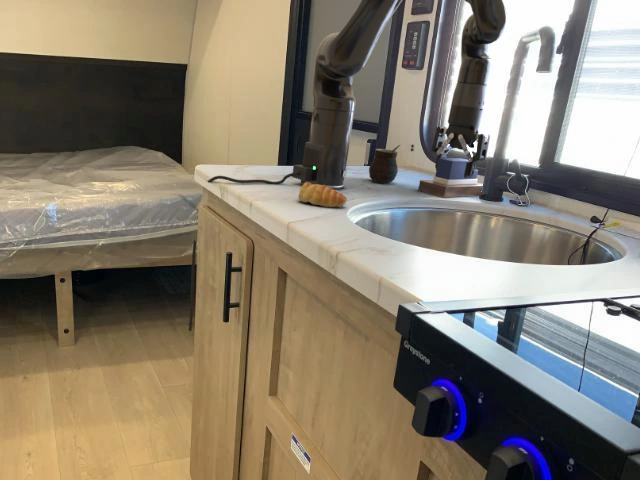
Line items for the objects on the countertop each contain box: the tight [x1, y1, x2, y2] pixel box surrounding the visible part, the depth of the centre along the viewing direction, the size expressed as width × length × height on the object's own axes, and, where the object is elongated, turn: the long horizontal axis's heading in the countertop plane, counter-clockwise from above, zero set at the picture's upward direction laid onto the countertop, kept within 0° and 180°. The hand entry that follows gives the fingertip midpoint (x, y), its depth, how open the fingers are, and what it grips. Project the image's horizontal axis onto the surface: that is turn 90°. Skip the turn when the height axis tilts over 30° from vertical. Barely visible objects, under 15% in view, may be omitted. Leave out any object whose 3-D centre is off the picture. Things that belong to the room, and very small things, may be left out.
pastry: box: [297, 182, 348, 208], centre depth 121 cm, size 9×7×4 cm
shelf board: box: [417, 179, 485, 198], centre depth 147 cm, size 16×8×2 cm, turn 122°
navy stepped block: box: [432, 157, 479, 185], centre depth 146 cm, size 11×4×6 cm, turn 122°
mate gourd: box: [368, 144, 401, 184], centre depth 152 cm, size 7×8×10 cm
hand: (453, 174), depth 145 cm, fingers open, 8 cm apart
